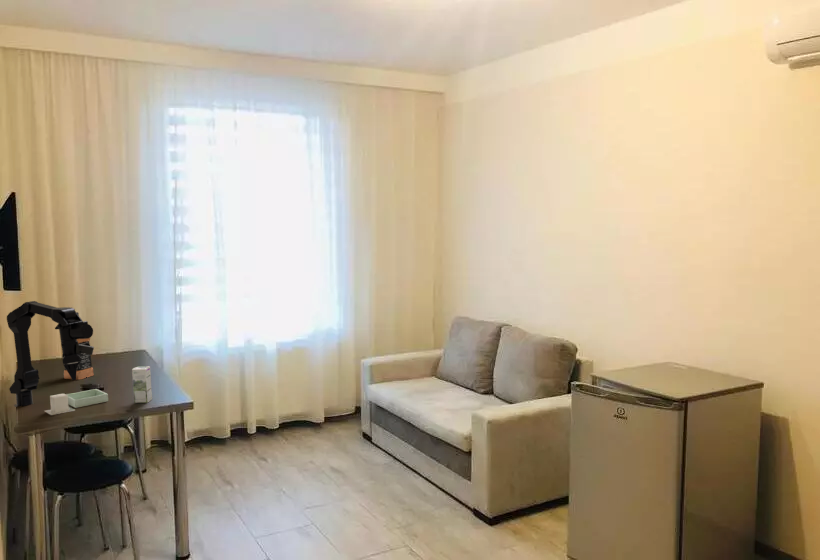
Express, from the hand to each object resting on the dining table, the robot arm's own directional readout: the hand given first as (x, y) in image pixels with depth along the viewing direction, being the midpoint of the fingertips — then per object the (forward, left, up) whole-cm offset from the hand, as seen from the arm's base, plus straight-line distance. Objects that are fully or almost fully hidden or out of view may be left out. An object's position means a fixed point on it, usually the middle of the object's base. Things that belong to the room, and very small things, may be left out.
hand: (74, 378), depth 265 cm
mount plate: (-2, -5, -13) cm, 15 cm away
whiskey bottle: (-64, +22, -14) cm, 69 cm away
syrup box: (+7, +24, -14) cm, 28 cm away
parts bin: (-8, +7, -13) cm, 17 cm away
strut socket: (-2, -5, -12) cm, 14 cm away
